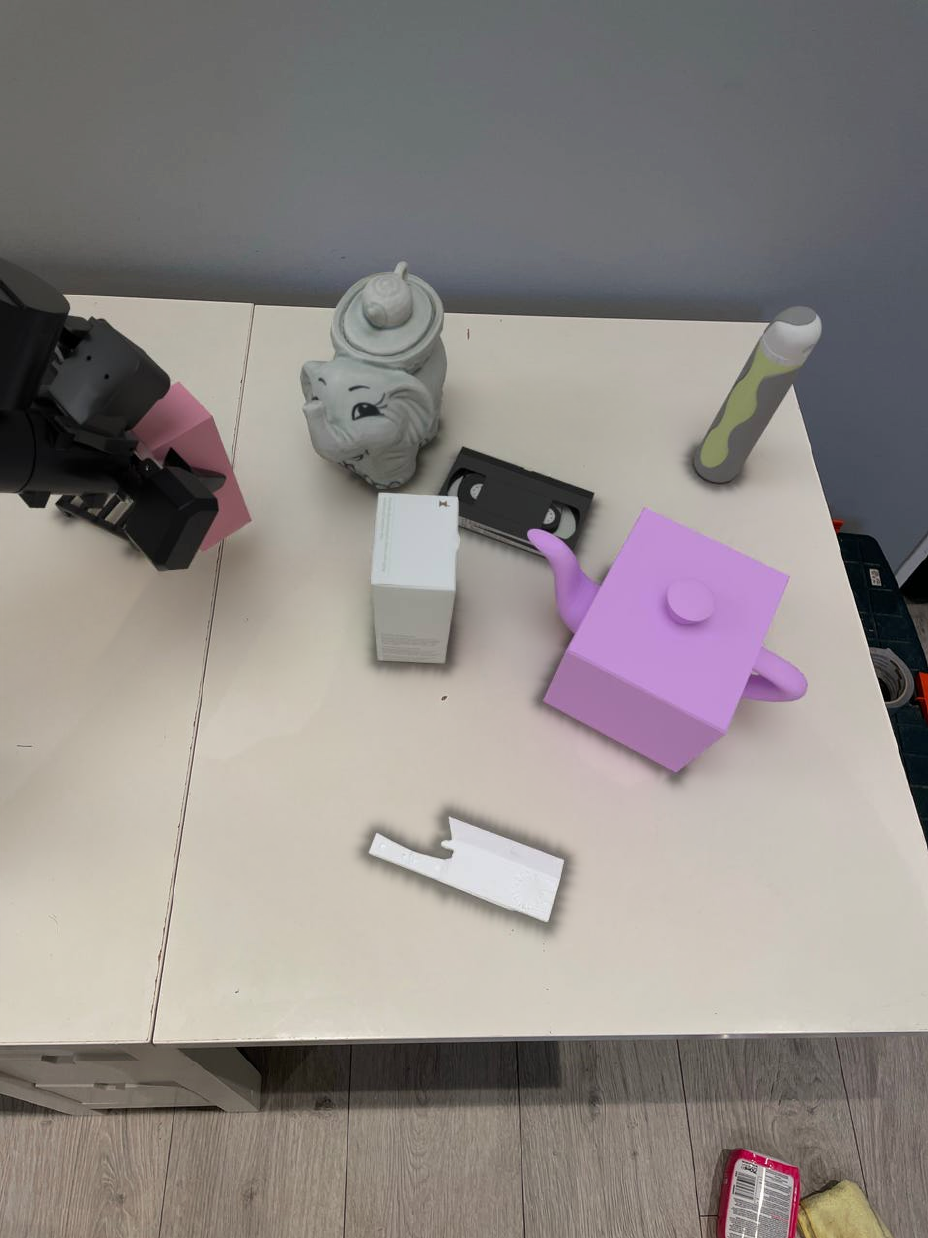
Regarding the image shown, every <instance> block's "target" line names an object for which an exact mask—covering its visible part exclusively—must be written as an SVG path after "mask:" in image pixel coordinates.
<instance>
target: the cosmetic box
mask: <svg viewBox="0 0 928 1238" xmlns="http://www.w3.org/2000/svg"><path fill="white" fill-rule="evenodd" d="M458 514H459V500H458V497H457V496H438V495H430V494H425V495H424V494H409V493H393V492H378V495H377V501H376V514H375V520H374V521H375V523H374V535H373V544H372V556H371V565H370V566H371V567H370V585H371V586H370V587H371V588H370V589H371V598H372V599H371V600H372V609H373V610H372V611H373V622H374V633H375V646H376V656H377V657H376V658H377V660H378V661H381V662H382V661H383V662H402V663H425V664H441V665H444V664H446V659H447V650H448V645H449V638H450V633H451V632H450V631H451V625H452V618H453V611H454V605H455V599H456V594H457V582H458V581H457V579H458V550H459V547H460V543H461V539H460V538H461V537H460V535H459V526H458Z"/></svg>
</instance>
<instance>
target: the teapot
mask: <svg viewBox="0 0 928 1238" xmlns="http://www.w3.org/2000/svg"><path fill="white" fill-rule="evenodd" d="M527 536H528V538H529V540H530V542H531V543H532V544H533V545H534V546H535V547H536V548H537V549H538V550H539V551H540V552H541V553H542V554H543V555H544V556H545V557H546V558H545V559H546V560H547V561H548V563H549V565H550V568H551V570H552V575H553V581H554V596H555V597H554V598H555V604H556V608H557V613H558V614H559V616H560V618H561V620H562V621H563V623H564V624H565V625H566V626H567V628H568V629H569V630H570V631H571V632H572V633H573V634H574V635H573V637H572V639H571V640H570V643H569V644H568V646H567V648H566V650H565V652H564V654H563V656H562V658H561V661H560V662H559V665H558V667H557V670H556V672H555V674H554V675H553V678H552V680H551V682H550V685H549V688H548V689H547V691H546V693H545V696H544V697H543V700H542V702H543V703H545V704H547V705H549V706H550V707H552V708H554V709H555V710H558V711H560V712H562V713H564V714H565V715H567V716H569V717H571V718H573V719H574V720H577V721H578V722H581V723H582V724H583V725H586V726H588V727H590V728H591V729H593V730H595V731H597V732H599V733H601V734H603V735H604V736H607V737H608V738H609V739H612V740H614V741H616V742H618V743H620V744H622V745H624V746H625V747H627V748H629V749H631V750H633V751H634V752H637V753H638V754H640V755H642V756H644V757H646V758H647V759H649V760H651V761H653V762H655V763H656V764H658V765H660V766H662V767H664V768H666V769H668V770H670V771H671V772H673V773H675V774H676V773H678V772H679V771H680V770H682V769H683V768H684V767H685V766H687V765H688V764H690V762H692V761H693V760H694V759H695V758H697V757H698V756H700V755H701V754H702V753H703V752H705V751H706V750H707V749H709V748H710V747H711V746H713V745H714V744H715V743H716V742H718V741H719V740H720V739H722V738H723V737H724V736H725V735H726V734H727V732H728V730H729V727H730V725H731V722H732V720H733V717H734V715H735V712H736V710H737V708H738V705H739V703H740V701H741V699H746V700H751V701H752V700H753V701H760V702H765V703H766V702H768V703H790V702H794V701H798V700H800V699H802V698H803V697H804V696H805V695H806V694H807V692H808V687H809V682H808V680H807V678H806V676H805V674H804V673H803V672H802V671H801V670H800V669H799V668H798V667H796V666H795V665H794V664H793V663H792V662H790V661H788V660H787V659H785V658H783V657H782V656H780V655H779V654H777V653H775V652H773V651H772V650H770V649H768V648H766V647H764V646H763V645H764V642H765V639H766V636H767V634H768V632H769V629H770V627H771V624H772V622H773V619H774V618H775V614H776V612H777V610H778V607H779V605H780V603H781V600H782V597H783V595H784V593H785V590H786V588H787V586H788V583H789V580H790V578H791V576H790V575H789V574H787V573H784V572H782V571H780V570H778V569H776V568H774V567H771V566H769V565H768V564H766V563H763V562H761V561H759V560H757V559H755V558H753V557H751V556H749V555H748V554H745V553H743V552H741V551H739V550H737V549H735V548H732V547H730V546H728V545H726V544H724V543H722V542H720V541H718V540H716V539H714V538H711V537H709V536H707V535H705V534H703V533H700V532H698V531H696V530H695V529H693V528H690V527H689V526H687V525H684V524H681V523H679V522H677V521H675V520H673V519H671V518H668V517H667V516H664V515H662V514H660V513H658V512H656V511H654V510H652V509H650V508H648V507H646V506H643V508H642V510H641V511H640V513H639V515H638V516H637V519H636V521H635V523H634V525H633V526H632V528H631V530H630V532H629V533H628V535H627V537H626V539H625V541H624V543H623V545H622V546H621V549H620V550H619V552H618V554H617V556H616V557H615V559H614V561H613V563H612V565H611V567H610V569H609V571H608V572H607V574H606V576H605V578H604V580H603V581H602V583H601V585H599V584H598V583H596V582H595V580H592V579H591V578H590V577H589V576H588V575H587V574H586V573H585V572H584V570H583V569H582V568H581V566H580V563H579V560H578V558H577V557H576V555H575V553H574V552H573V551H571V550H570V548H569V547H568V546H567V545H566V544H565V543H564V542H563V541H562V540H560V539H559V538H557V537H556V536H554V535H552V534H550V533H548V532H546V531H543V530H539V529H531V530H529V531H528V533H527ZM752 672H754V673H755V674H754V673H752Z"/></svg>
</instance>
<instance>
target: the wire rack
mask: <svg viewBox="0 0 928 1238" xmlns="http://www.w3.org/2000/svg"><path fill="white" fill-rule="evenodd" d="M77 497H78V495H60V497H59V498H58V499H57V500H56V502H54V505H55V506H56V508H57V509H58V511H59V512H60V513H61V515H63V516H65V517H67V518H70V517H71V516H74V517H76V518H79V519H81V520H83V521H84V522H86V523H88V524H91V525H93V526H95V527H97V528H99V529H101V530H103V531H105V532H108V533H109V534H112V535H114V536H116V537H117V538H120V539H122V540H124V541H126V542H128V543H129V544H130V547H131V548H132V549H133V550H135V551H138V552H141V551H140V550H139V549H138V548H137V547H136V546H135V545H134V543H133V542H132V541H131V540H130V539H129V537H128V536H127V534H126V532H125V531H124V528H125V526H126V523H127V521H128V519H129V517H130V515H131V513H132V511H133V509H134V507H135V503H134V502H133V501H132V503H131V504H130V505H129V506H128V507H127V508H126V510H125V511H123V513H122V514H121V515H120V516H119V518H118V519H117V520H116V521H115V523H113V522H111V521H109V520H107V519H108V516H109V515H110V514H111V513H112V512H113V511H114V510H115V509H116V507H117V506H118V505H119V504H120V503H121V502H122V501H121V500H120V499H119V498H118V497H117V496H116V494H115V493H114V494H113V495H112V497H111V498H110V499H109V500H108V501H107V503H105V505H104V507H103V509H100V510H99V511H98V513H97V514H94V513H93V512H90V511H89V510H90V509H89V508H88V507H87V506H86V504H85V503H84V502H83V501H82V502H81V504H80V505H79V506H78V505H75V504H74V503H72V502H73V501H74V500H75V499H76V498H77Z"/></svg>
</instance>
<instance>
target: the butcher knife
mask: <svg viewBox="0 0 928 1238" xmlns="http://www.w3.org/2000/svg"><path fill="white" fill-rule="evenodd" d="M448 824H449V829H450V836H451V839H450V840H448V839H445V840H443V841H441V843H440V846H441V847H442V848H444V849H447V850H449V851H452V852H453V853H452V855H451V857H449V858H445V859H443V858H439V857H436V856H431V855H428V854H427V855H426V854H424V853H420V852H417V851H414V850H411V849H410V848H407V847H405V846H403V845H401V844H399V843H397V842H395V841H393V840H392V839H389V838H388V837H386V836H384V835H382V834H381V833H379V832H376V834H375V835H374V838H373V840H372V843H371V846H370V848H369V850H368V855H371V856H372V857H373V856H374V857H376V858H378V859H380V860H381V859H382V860H384V861H386V862H388V863H391V864H394V865H397V866H399V867H402V868H405V869H407V870H410V871H412V872H415V873H417V874H420V875H423V876H424V877H428V878H430V879H433V880H436V881H438V882H440V883H442V884H445V885H447V886H450V887H452V888H455V889H457V890H460V891H461V892H463V893H464V892H465V893H468V894H469V895H472V896H474V897H476V898H479V899H481V900H483V901H486V902H489V903H492V904H494V905H496V906H499V907H500V908H504V909H506V910H509V911H512V912H514V911H516V912H519V913H520V914H524V915H525V916H529V917H531V918H534V919H537V920H539V921H542V922H544V923H548V922H549V919H550V916H551V913H552V910H553V906H554V904H555V899H556V895H557V891H558V888H559V885H560V881H561V877H562V872H563V868H564V863H565V859H562V858H560V857H557V856H554V855H552V854H549V853H547V852H544V851H541V850H539V849H536V848H534V847H531V846H528V845H526V844H523V843H520V842H518V841H516V840H515V841H514V840H512V839H509V838H507V837H504V836H501V835H499V834H497V833H494V832H492V831H488V830H485V829H483V828H480V827H477V826H476V825H472V824H470V823H467V822H464V821H462V820H459V819H457V818H454V817H451V816H448Z"/></svg>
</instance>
